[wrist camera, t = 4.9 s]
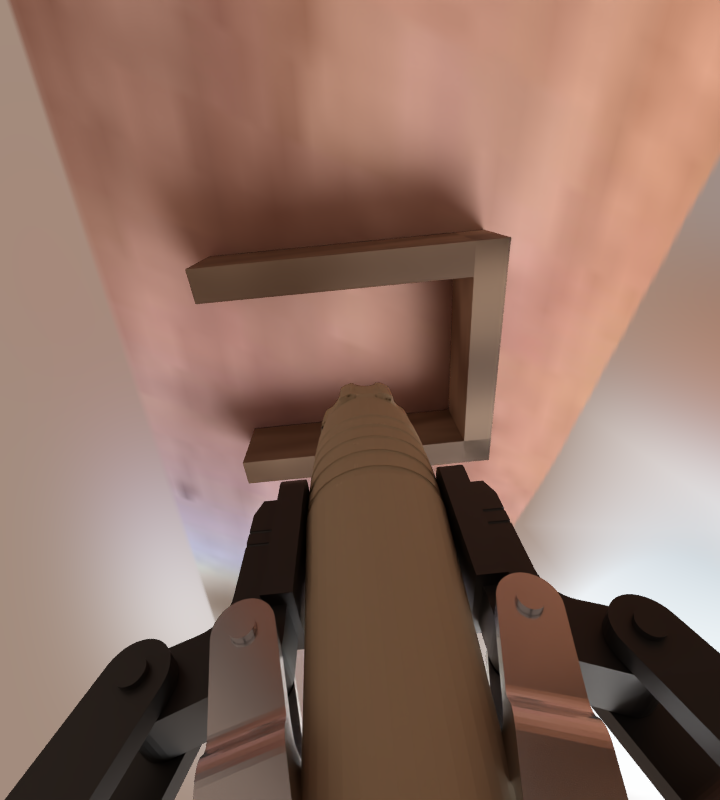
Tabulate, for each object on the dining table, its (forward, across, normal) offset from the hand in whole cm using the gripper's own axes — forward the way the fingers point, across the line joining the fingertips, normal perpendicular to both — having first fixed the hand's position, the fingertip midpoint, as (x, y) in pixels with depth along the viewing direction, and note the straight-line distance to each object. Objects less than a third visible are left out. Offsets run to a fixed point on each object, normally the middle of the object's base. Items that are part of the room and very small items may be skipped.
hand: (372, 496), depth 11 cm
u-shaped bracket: (+12, 0, 0) cm, 12 cm away
